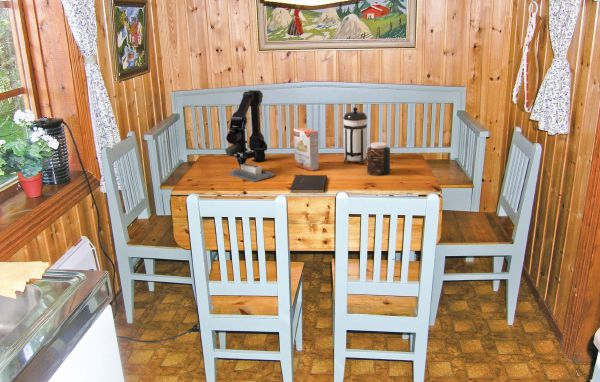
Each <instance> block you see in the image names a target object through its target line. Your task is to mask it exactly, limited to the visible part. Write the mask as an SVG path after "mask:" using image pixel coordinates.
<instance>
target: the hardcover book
mask: <svg viewBox="0 0 600 382" xmlns="http://www.w3.org/2000/svg"><path fill="white" fill-rule="evenodd" d="M327 180H328V175H326V174H304V175H303V174H298V175H297V174H296V175H294V177H293V181H292V183H291V186H290V188H289V191H290V193H291V194H292V193H293V194H296V193H297V194H298V193H299V194H300V193H301V194H304V193H305V194H307V193H309V194H311V193H313V194H314V193H315V194H317V193H322V194H323V193H325V190H326V186H327V182H328V181H327Z"/></svg>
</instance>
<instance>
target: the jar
mask: <svg viewBox="0 0 600 382" xmlns="http://www.w3.org/2000/svg"><path fill="white" fill-rule="evenodd" d="M366 157H367V160H366V173H367V174H368V175H370V176H385V175H389V174H390V173H391V148H390V147H389V146H388V143H387V142H384V141H378V142H377V141H376V142H375V141H374V142H371V143H370V146H369V147H368V148H366Z"/></svg>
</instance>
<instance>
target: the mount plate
mask: <svg viewBox="0 0 600 382" xmlns="http://www.w3.org/2000/svg"><path fill="white" fill-rule="evenodd" d="M261 170H262V174H259V175H258V174H255V173H251V172H247V171H244V170H241V168H240V169H239V168H234V169H233V171H229V172H228V173H227V174H228V176H232V177H235V178H238V179H241V180H245V181H248V182H252V183H256V182H259V181H262V180H267V179H270V178H272V177H276V173H273V172H271V171H268V170H264V169H261Z"/></svg>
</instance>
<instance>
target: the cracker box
mask: <svg viewBox="0 0 600 382" xmlns="http://www.w3.org/2000/svg"><path fill="white" fill-rule="evenodd" d="M293 145H294V165H295V167H297V168H301V169H304V170H306V171H310V172H312V171H316V170H319V169H320V165H319V164H320V161H319V160H320V159H319V158H320V157H319V131H318V130H314V129H310V128H307V127H302V126H301V127H296V128H295V127H294V128H293Z"/></svg>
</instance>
